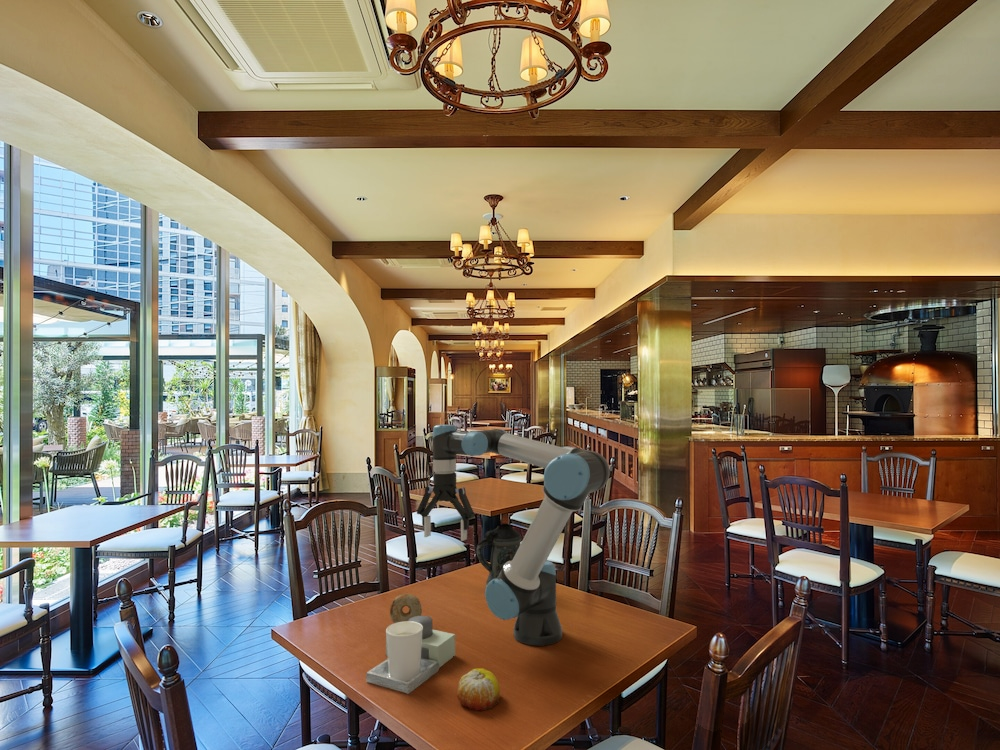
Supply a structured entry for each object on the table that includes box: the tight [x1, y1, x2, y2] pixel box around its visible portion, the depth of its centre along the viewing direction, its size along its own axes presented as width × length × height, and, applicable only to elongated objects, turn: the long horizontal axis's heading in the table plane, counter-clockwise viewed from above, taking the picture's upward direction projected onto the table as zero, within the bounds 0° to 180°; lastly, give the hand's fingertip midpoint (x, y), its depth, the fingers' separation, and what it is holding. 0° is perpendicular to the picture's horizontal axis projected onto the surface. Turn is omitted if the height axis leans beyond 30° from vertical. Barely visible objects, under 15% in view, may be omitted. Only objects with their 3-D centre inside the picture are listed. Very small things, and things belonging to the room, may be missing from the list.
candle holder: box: [385, 621, 423, 681], centre depth 150 cm, size 10×10×12 cm
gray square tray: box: [365, 657, 440, 695], centre depth 150 cm, size 14×14×2 cm
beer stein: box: [476, 523, 522, 586], centre depth 216 cm, size 16×19×25 cm
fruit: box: [456, 667, 501, 711], centre depth 137 cm, size 11×10×8 cm
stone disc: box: [389, 593, 423, 624], centre depth 183 cm, size 10×4×10 cm, turn 97°
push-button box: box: [385, 615, 456, 668], centre depth 162 cm, size 18×9×10 cm, turn 62°
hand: (445, 538), depth 181 cm, fingers open, 13 cm apart
